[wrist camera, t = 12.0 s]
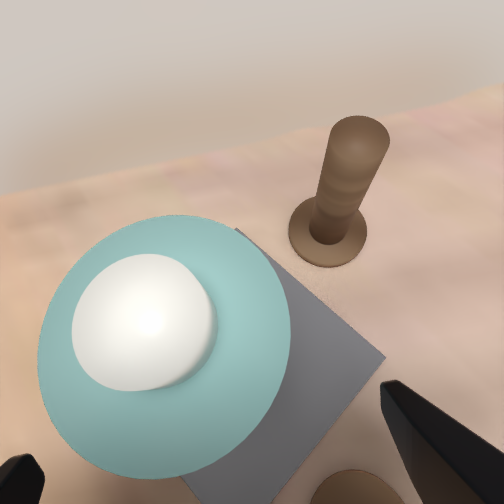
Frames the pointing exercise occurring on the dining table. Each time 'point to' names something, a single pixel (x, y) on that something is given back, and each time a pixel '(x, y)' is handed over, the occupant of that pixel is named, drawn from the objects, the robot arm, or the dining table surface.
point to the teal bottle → (164, 347)
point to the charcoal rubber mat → (293, 402)
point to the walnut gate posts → (343, 254)
